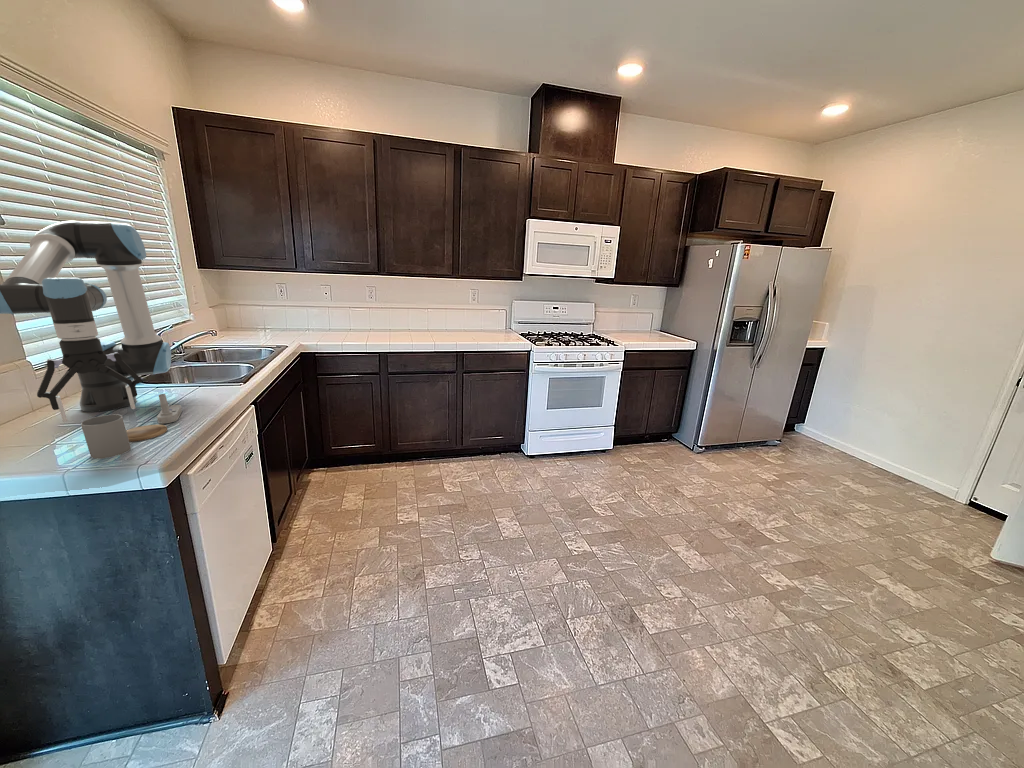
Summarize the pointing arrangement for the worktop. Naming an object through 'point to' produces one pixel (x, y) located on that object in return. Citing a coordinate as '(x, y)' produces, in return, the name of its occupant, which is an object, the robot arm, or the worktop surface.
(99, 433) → the cup
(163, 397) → the electronic device
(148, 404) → the worktop surface
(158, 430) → the plate
